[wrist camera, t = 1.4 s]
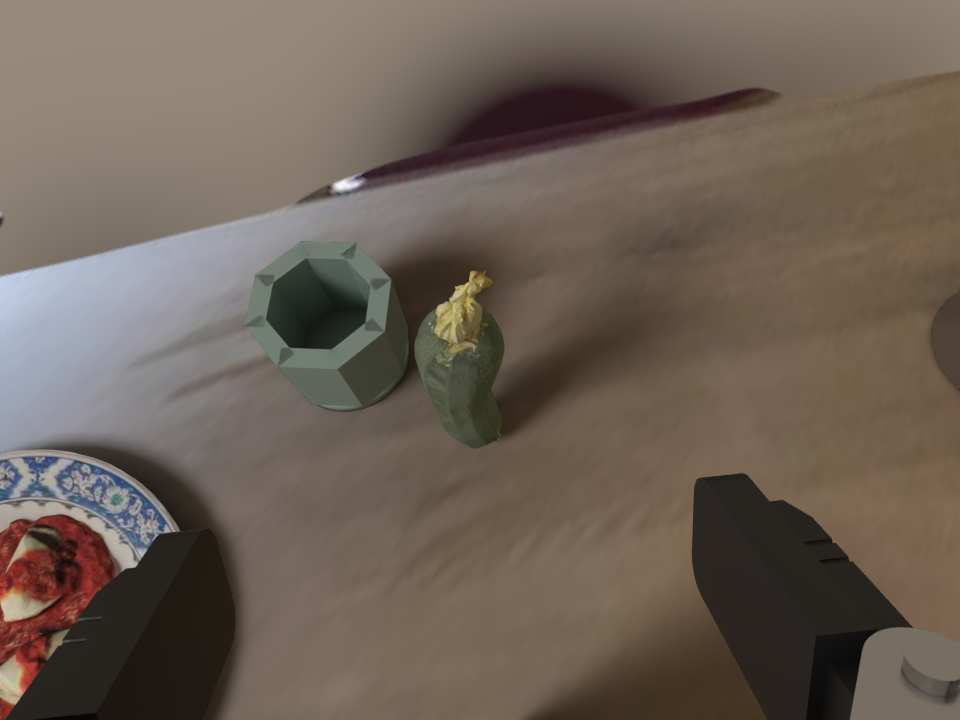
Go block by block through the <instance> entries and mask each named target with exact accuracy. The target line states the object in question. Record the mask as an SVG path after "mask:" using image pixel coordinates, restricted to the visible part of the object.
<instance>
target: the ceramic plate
mask: <svg viewBox="0 0 960 720" xmlns="http://www.w3.org/2000/svg"><path fill="white" fill-rule="evenodd" d="M178 531H180V529H179V528H178V526H177V524H176V522H175V521H174V520H173V518H172V517H171V515H170V514H169V512H168V511H167V509H166V508H165V507H164V506H163V505H162V503H161V502H160V501H159V500H158V499H157V498H156V497H155V495H153V494H152V493H151V492H150V491H149V490H148V489H147V488H146V487H145V486H143V485H142V484H141V483H140V482H139V481H137V480H136V479H134V478H133V477H131V476H130V475H128V474H127V473H125V472H124V471H122V470H120V469H118V468H116V467H115V466H113V465H111V464H109V463H106V462H104V461H101V460H99V459H96V458H93V457H89V456H85V455H81V454H77V453H73V452H67V451H61V450H44V449H38V450H20V451H12V452H6V453H1V454H0V720H5V719H6V717H7V716H8V714H9V713H10V712H11V710H12V709H13V708H14V706H15V705H16V703H17V702H18V701H19V699H20V698H21V696H22V695H23V694H24V692H25V691H26V689H27V688H28V687H29V685H30V684H31V683H32V681H33V680H34V678H35V677H36V676H37V674H38V673H39V671H40V670H41V669H42V667H43V666H44V665H45V663H46V662H47V660H48V659H49V658H50V656H51V655H52V653H53V652H54V651H55V649H56V648H57V646H60V645H62V642H63V641H62V640H63V638H64V637H65V635H66V634H67V633H68V631H69V630H70V628H71V627H72V626H73V624H74V623H78V617H79V616H80V615H81V613H82V612H83V610H84V609H85V608H86V606H87V605H88V603H89V602H90V601H91V599H92V598H93V597H94V595H95V594H96V592H97V591H99V590H100V589H101V588H102V587H104V586H105V585H106V584H107V583H108V582H110V581H111V580H112V579H113V578H115V577H116V576H117V575H118V574H120V573H121V572H122V571H123V570H125V569H126V568H134V567H136V566H137V564H138V563H139V561H140V560H141V558H142V557H143V555H144V554H145V552H146V551H147V550H148V548H149V547H150V545H151V544H152V542H153V541H154V539H155V538H156V537H157V536H158V535H159V534H161V533H169V532H178Z"/></svg>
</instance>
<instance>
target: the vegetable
mask: <svg viewBox="0 0 960 720" xmlns="http://www.w3.org/2000/svg"><path fill="white" fill-rule="evenodd" d="M485 273H486V270H485V271H484V272H482V273H481V272H478V271H471V272H470V277H469V282H467V283H466V284H465V285H460V286H457V287H456V286H455V288H456V291H455V292H454V294H453V296H452V297H451V298H450V301H449V302H445V303H443V304H440V305H439V306H437V307H436V308H435V309H434V310H432V311H431V312H430V313H429V314H428V315H427V316H426V318H425V319H424V320H423V321H422V323H421V325H420V327H419V330H418V333H417V337H416V340H415V359H416V363H417V366H418V370H419V373H420V376H421V380H422V382H423V385H424V388H425V390H426V391H427V393H428V396H429V399H430V401H431V404H432V406H433V407H434V409H435V411H436V413H437V415H438V417H439V418H440V420H441V423H442V425H443V427H444V428H445V430H446V431H447V432H448V433H449V434H450V435H451V436H452V437H454V438H455V439H456V440H458V441H459V442H461V443H463V444H465V445H467V446H469V447H471V448H479V447H482V446H485V445H488V444H490V443H491V442H492V441H494V439H497V440H500V439H501V434H500V428H501V425H502V416H501V414H500V411H499V409H498V407H497V403H496V401H495V398H494V395H493V393H492V391H491V388H492V385H493V383H494V381H495V378H496V376H497V374H498V371H499V369H500V366H501V363H502V359H503V355H504V340H503V336H502V332H501V330H500V328H499V326H498V324H497V322H496V321H495V319H494V318H493V316H492V315H491V314H490V313H489V312H488V311H487V310H485V309H483V308H482V307H481V306H480V305H481V304H478V303H477V301H476V298H475V296H476V294H478V293H479V292H481V291H482V289H483V288H487V287H490V286H491V284H492V282H493V280H491V279H489V278H487V277H486V276H485Z"/></svg>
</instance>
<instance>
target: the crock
mask: <svg viewBox="0 0 960 720" xmlns="http://www.w3.org/2000/svg"><path fill="white" fill-rule="evenodd" d="M244 327H245V328H246V329H247V330H248V331H249V333H250V334H251V335H252V336H253V337H254V339H255V340H256V341H257V342H258V344H259V345H260V346H261V347H262V348H263V350H264V351H265V352H266V353H267V354H268V356H269V357H270V358H271V359H272V360H273V362H274V363H275V364H276V365H277V367H278V368H279V369H280V370H281V371H282V372H283V373H284V374H285V376H286V377H287V378H288V379H289V380H290V381H291V382H292V383H293V384H294V385H295V387H296V388H297V389H298V390H299V391H300V392H301V393H302V394H303V395H304V397H305V398H306V399H307V400H308V401H309V402H310V403H311V404H312V405H317V406H319V407H322V408H324V409H328V410H332V411H340V412H348V411H356V410H360V409H364V408H367V407H369V406H372V405H374V404H376V403H377V402H379V401H381V400H382V399H384V398H385V397H386V396H388V395H389V394H390V393H391V392H392V391H393V390H394V389H395V387H396V386H397V385H398V384H399V382H400V381H401V379H402V377H403V375H404V373H405V371H406V368H407V365H408V361H409V354H410V347H409V340H408V325H407V322H406V319H405V316H404V313H403V311H402V308H401V305H400V302H399V299H398V296H397V294H396V291H395V288H394V285H393V282H392V279H391V278H390V277H389V276H388V275H387V274H386V273H385V272H384V271H383V270H382V269H381V268H380V267H379V266H378V265H377V264H376V263H375V262H374V260H373V259H372V258H371V257H370V256H369V255H368V254H367V253H366V252H365V251H364V250H363V249H362V248H361V247H360V246H359V245H358V244H357V243H350V242H314V241H301V242H299V243H298V244H297V245H295V246H294V247H293V248H291V249H290V250H289V251H287V252H286V253H284V254H283V255H282V256H280V257H279V258H278V259H276V260H275V261H273V262H272V263H271V264H269V265H268V266H267V267H265V268H264V269H263V270H261V271H260V272H258V273H257V274H256V275H255V279H254V284H253V288H252V293H251V298H250V302H249V307H248V312H247V316H246V321H245V326H244Z"/></svg>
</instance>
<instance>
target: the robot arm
mask: <svg viewBox="0 0 960 720" xmlns="http://www.w3.org/2000/svg"><path fill="white" fill-rule="evenodd" d="M931 337H932V346H933V350H934V354H935V357H936V359H937V361H938V363H939V365H940V367H941V369H942V370H943V371H944V373H945V374H946V375H947V377H948V378H949V379H950V381H951V382H952V383H953V384H954V385H956V386H957V387H958V388H959V389H960V291H959V292H958V293H957V294H955V295H954V296H953V297H951V298H950V299H949V300H948V301H947V302H946V303H945V304H944V305H943V306H942V307H941V308H940V309H939V311H938V313H937V314H936V316H935V318H934V321H933V325H932V329H931ZM692 564H693V570H694V575H695V580H696V583H697V586H698V589H699V592H700V594H701V596H702V598H703V600H704V602H705V603H706V605H707V607H708V609H709V611H710V613H711V615H712V616H713V618H714V620H715V622H716V624H717V626H718V628H719V630H720V631H721V633H722V635H723V637H724V639H725V641H726V643H727V644H728V646H729V648H730V650H731V652H732V654H733V656H734V658H735V659H736V661H737V663H738V665H739V667H740V669H741V671H742V672H743V674H744V676H745V678H746V680H747V682H748V684H749V686H750V687H751V689H752V691H753V693H754V695H755V697H756V699H757V700H758V702H759V704H760V706H761V708H762V710H763V712H764V714H765V715H766V717H767V719H768V720H960V643H959V642H957V641H955V640H952V639H950V638H948V637H946V636H943V635H940V634H937V633H934V632H930V631H926V630H922V629H916V628H913V627H912V626H911V625H910V624H909V623H908V622H907V620H906V619H905V618H904V617H903V616H902V615H901V614H900V613H899V612H898V611H897V610H896V608H895V607H894V606H893V605H892V604H891V603H890V602H889V601H888V600H887V599H886V597H885V596H884V595H883V594H882V593H881V592H880V591H879V590H878V589H877V588H876V587H875V585H874V584H873V583H872V582H871V581H870V580H869V579H868V578H867V577H866V576H865V574H864V573H863V572H862V571H861V570H860V569H859V568H858V567H857V566H856V565H855V564H854V562H850V561H849V559H848V556H847V555H846V554H845V553H844V552H843V550H842V549H841V548H840V547H839V546H838V545H837V544H836V543H833V542H832V538H831V537H830V536H829V535H828V534H827V533H826V532H825V531H824V530H823V529H822V527H821V526H820V525H819V524H818V523H817V522H816V521H815V520H814V519H813V518H812V517H811V516H809V515H808V514H806V513H804V512H802V511H801V510H799V509H797V508H795V507H794V506H792V505H790V504H789V503H787V502H785V501H783V500H779V501H769V500H768V499H767V498H766V497H765V495H764V494H763V493H762V492H761V491H760V490H759V488H758V487H757V486H756V485H755V484H754V482H753V481H752V480H751V479H750V478H749V477H748V476H747V475H746V474H743V473H741V474H732V475H722V476H713V477H703V478H698V479H697V481H696V483H695V487H694V506H693V537H692ZM234 631H235V608H234V602H233V598H232V595H231V591H230V588H229V584H228V580H227V577H226V573H225V569H224V566H223V562H222V558H221V555H220V551H219V548H218V544H217V541H216V538H215V535H214V534H213V532H212V531H211V530H210V529H197V530H188V531H178V532H169V533H161V534H159V535H158V536H157V537H156V538H155V539H154V541H153V542H152V544H151V545H150V547H149V548H148V550H147V551H146V552H145V554H144V555H143V557H142V558H141V560H140V561H139V563H138V564H137V566H136V567H134V568H126V569H125V570H123V571H122V572H121V573H120V574H118V575H117V576H116V577H115V578H113V579H112V580H111V581H110V582H108V583H107V584H106V585H105V586H104V587H102V588H101V589H100V590H99V591H97V592H96V594H95V595H94V597H93V598H92V599H91V601H90V602H89V603H88V605H87V606H86V608H85V609H84V610H83V612H82V613H81V615H80V616H79V617H78V623H74V624H73V626H72V627H71V628H70V630H69V631H68V633H67V634H66V635H65V637H64V638H63V640H62V641H63V642H62V645H60V646H57V648H56V649H55V651H54V652H53V653H52V655H51V656H50V658H49V659H48V660H47V662H46V663H45V665H44V666H43V667H42V669H41V670H40V671H39V673H38V674H37V676H36V677H35V678H34V680H33V681H32V683H31V684H30V685H29V687H28V688H27V689H26V691H25V692H24V694H23V695H22V696H21V698H20V699H19V701H18V702H17V703H16V705H15V706H14V708H13V709H12V710H11V712H10V713H9V714H8V716H7V717H6V719H5V720H202V718H203V715H204V713H205V710H206V708H207V705H208V702H209V700H210V697H211V695H212V692H213V690H214V687H215V685H216V682H217V680H218V677H219V675H220V672H221V670H222V667H223V665H224V662H225V660H226V657H227V655H228V652H229V650H230V647H231V644H232V641H233V637H234Z"/></svg>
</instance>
